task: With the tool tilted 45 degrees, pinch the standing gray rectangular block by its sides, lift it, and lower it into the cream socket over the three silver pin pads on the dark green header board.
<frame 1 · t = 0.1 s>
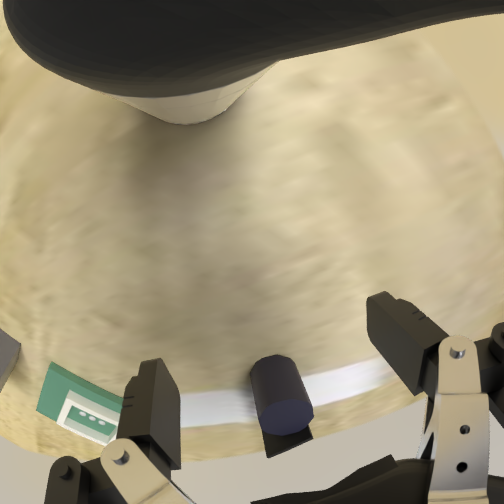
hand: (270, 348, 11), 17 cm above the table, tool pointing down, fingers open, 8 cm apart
header board: (93, 411, 33), on the table
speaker: (266, 372, 34), on the table
gray rectangular block: (4, 342, 27), on the table
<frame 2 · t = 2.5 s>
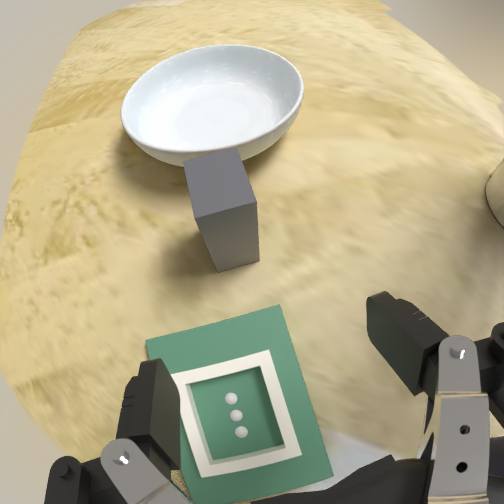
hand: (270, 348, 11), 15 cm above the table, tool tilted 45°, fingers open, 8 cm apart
header board: (237, 413, 22), on the table
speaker: (466, 462, 18), on the table
serving bowl: (217, 127, 36), on the table
gray rectangular block: (231, 243, 29), on the table
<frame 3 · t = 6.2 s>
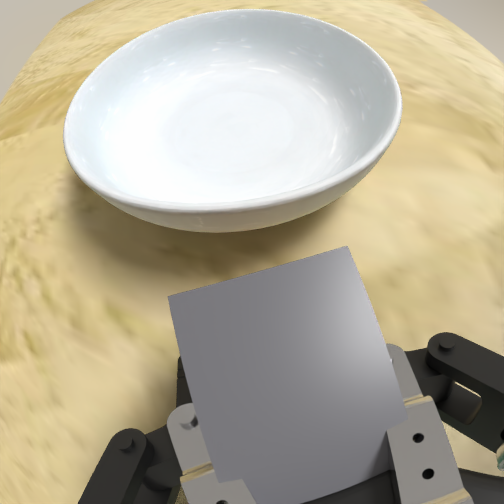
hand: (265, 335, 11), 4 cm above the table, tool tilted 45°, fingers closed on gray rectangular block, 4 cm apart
serving bowl: (235, 140, 21), on the table
gray rectangular block: (276, 380, 14), on the table, touching gripper
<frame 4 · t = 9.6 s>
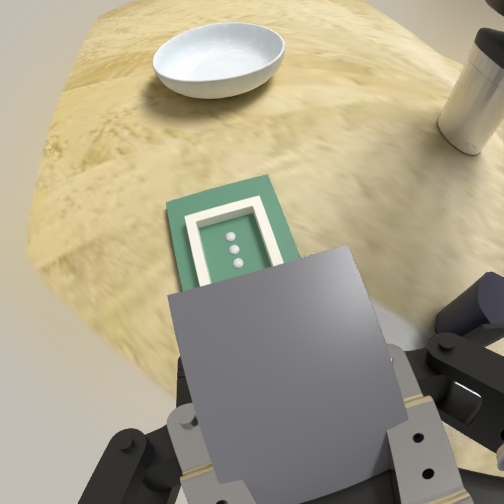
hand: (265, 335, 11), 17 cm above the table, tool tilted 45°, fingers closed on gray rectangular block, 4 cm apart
header board: (235, 254, 31), on the table
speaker: (447, 328, 27), on the table
serving bowl: (222, 79, 44), on the table
gray rectangular block: (276, 379, 14), point 13 cm above the table, touching gripper
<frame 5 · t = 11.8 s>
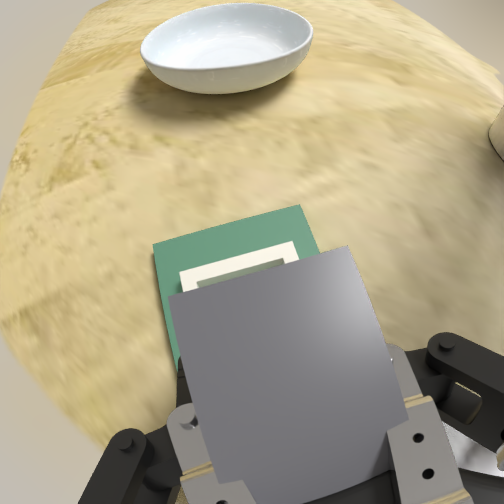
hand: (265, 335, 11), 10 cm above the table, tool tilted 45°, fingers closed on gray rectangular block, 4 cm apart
header board: (255, 326, 21), on the table
serving bowl: (230, 70, 34), on the table
gray rectangular block: (276, 380, 14), point 6 cm above the table, touching gripper
when the fingers open (7 cm above the table, at t = 13.2 s): gray rectangular block drops 1 cm, resting on header board.
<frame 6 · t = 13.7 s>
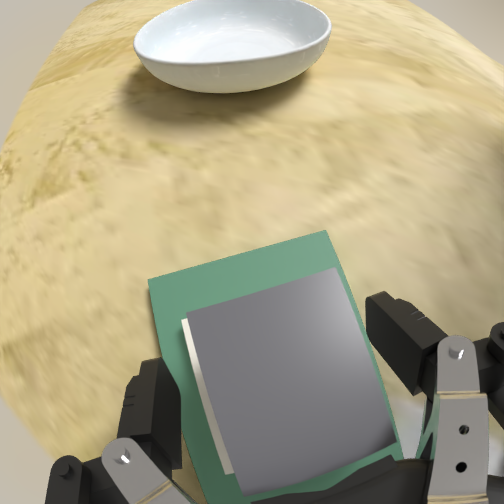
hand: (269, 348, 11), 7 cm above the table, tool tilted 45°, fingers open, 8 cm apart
header board: (274, 379, 17), on the table
serving bowl: (235, 67, 30), on the table
gray rectangular block: (276, 380, 16), point 1 cm above the table, touching header board
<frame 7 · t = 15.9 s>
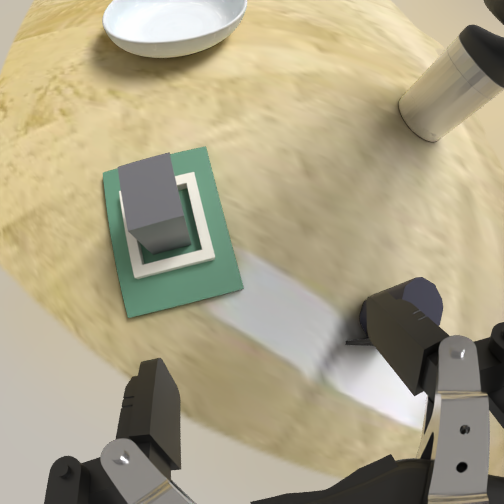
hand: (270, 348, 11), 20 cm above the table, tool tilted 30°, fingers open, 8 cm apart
header board: (167, 229, 31), on the table
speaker: (372, 315, 33), on the table
serving bowl: (175, 33, 36), on the table
gray rectangular block: (166, 226, 29), point 1 cm above the table, touching header board
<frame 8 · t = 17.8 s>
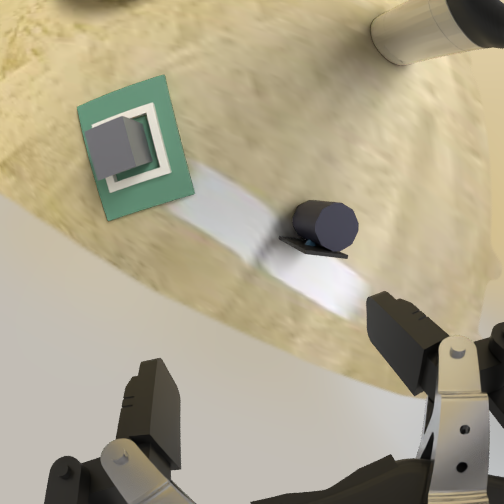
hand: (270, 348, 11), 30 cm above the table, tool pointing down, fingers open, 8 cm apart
header board: (134, 147, 34), on the table
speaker: (305, 217, 42), on the table
gray rectangular block: (132, 147, 33), point 1 cm above the table, touching header board
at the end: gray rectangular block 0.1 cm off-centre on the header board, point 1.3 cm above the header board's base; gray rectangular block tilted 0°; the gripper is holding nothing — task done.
